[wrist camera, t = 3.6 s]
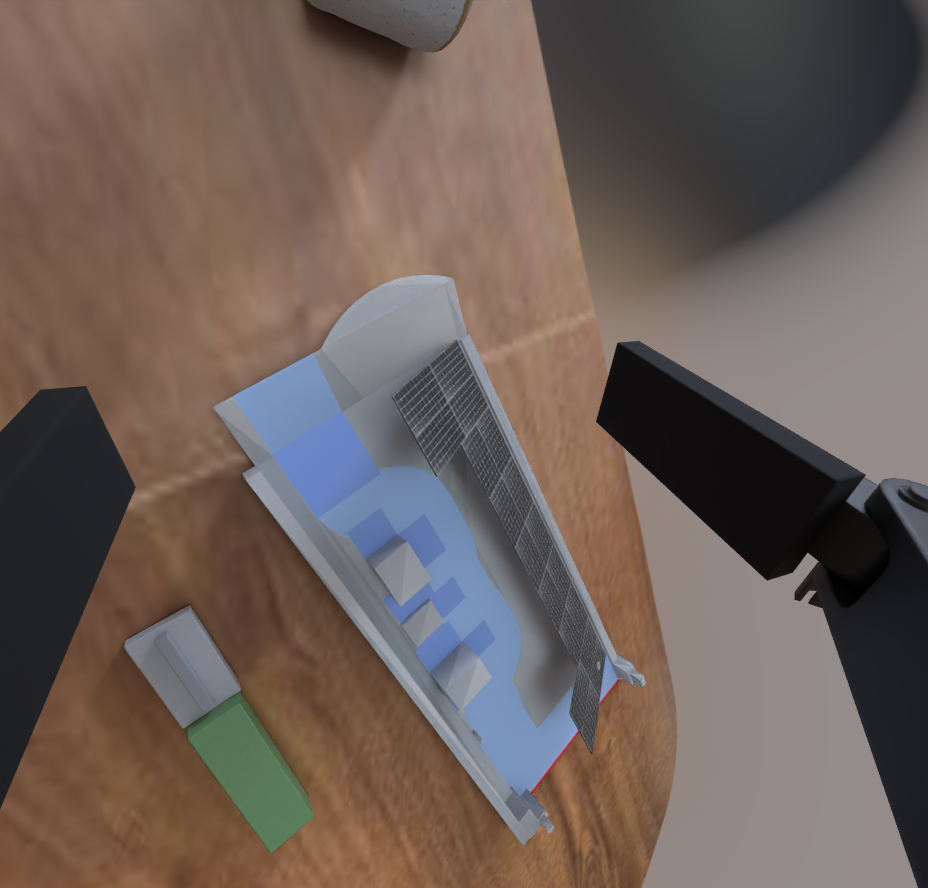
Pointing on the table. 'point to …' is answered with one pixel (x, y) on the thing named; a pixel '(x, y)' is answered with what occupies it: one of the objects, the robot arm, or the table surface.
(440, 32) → the ceramic mug
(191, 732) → the green peeler
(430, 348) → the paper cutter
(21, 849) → the table surface
